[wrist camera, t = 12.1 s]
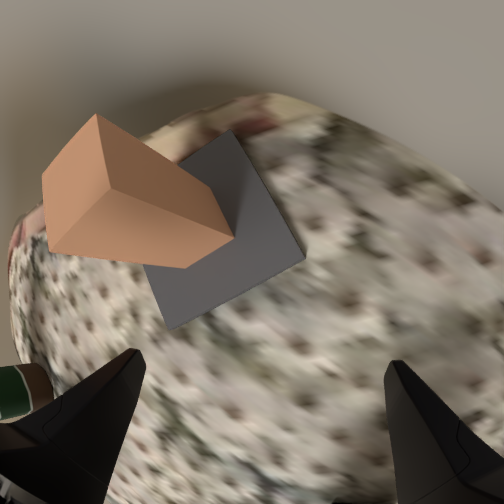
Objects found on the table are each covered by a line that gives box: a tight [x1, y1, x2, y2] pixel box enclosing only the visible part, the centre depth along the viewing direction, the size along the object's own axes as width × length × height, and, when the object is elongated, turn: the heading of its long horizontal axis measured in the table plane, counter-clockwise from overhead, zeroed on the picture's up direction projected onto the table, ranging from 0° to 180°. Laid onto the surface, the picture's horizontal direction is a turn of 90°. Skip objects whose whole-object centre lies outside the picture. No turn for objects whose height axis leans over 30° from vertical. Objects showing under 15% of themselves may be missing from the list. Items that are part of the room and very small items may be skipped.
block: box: [42, 113, 234, 269], centre depth 17 cm, size 5×5×13 cm
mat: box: [143, 129, 306, 330], centre depth 23 cm, size 13×13×1 cm
